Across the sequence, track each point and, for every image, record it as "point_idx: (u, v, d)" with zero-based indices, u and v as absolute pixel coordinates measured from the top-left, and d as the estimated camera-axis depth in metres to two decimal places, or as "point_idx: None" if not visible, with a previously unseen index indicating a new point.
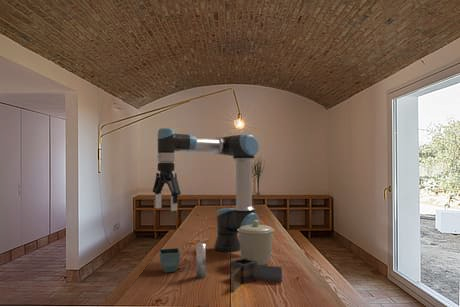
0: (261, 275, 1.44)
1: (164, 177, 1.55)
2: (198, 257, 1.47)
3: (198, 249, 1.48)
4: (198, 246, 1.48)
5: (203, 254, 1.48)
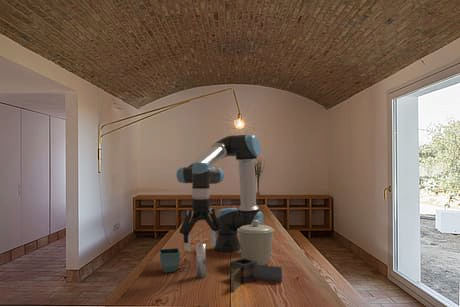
0: (261, 275, 1.44)
1: None
2: (198, 257, 1.47)
3: (198, 249, 1.48)
4: (198, 246, 1.48)
5: (203, 254, 1.48)
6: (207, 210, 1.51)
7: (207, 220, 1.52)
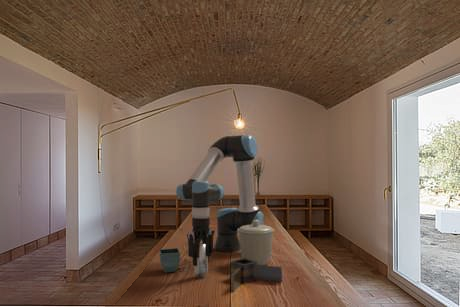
0: (261, 275, 1.44)
1: None
2: (198, 257, 1.47)
3: None
4: None
5: (203, 254, 1.48)
6: (208, 228, 1.51)
7: (204, 241, 1.50)
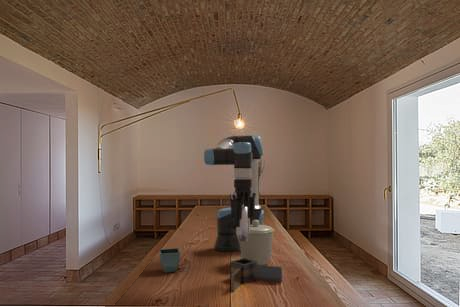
0: (261, 275, 1.44)
1: None
2: None
3: None
4: None
5: (246, 217, 1.46)
6: (249, 190, 1.49)
7: (246, 202, 1.48)
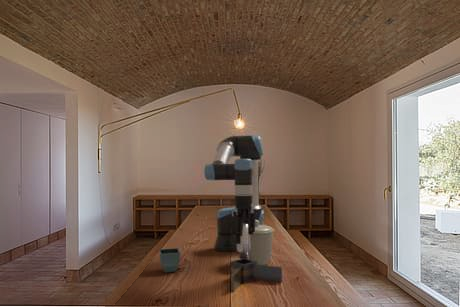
0: (261, 275, 1.44)
1: None
2: None
3: None
4: None
5: (246, 234, 1.46)
6: (250, 207, 1.49)
7: (246, 219, 1.48)
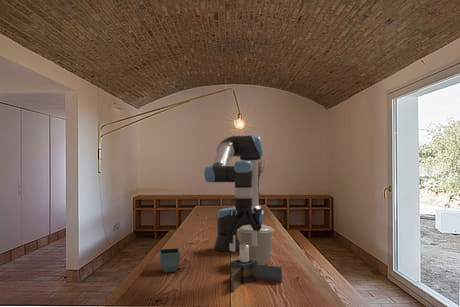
0: (261, 275, 1.44)
1: None
2: (242, 258, 1.45)
3: (242, 250, 1.46)
4: (242, 247, 1.46)
5: (247, 255, 1.46)
6: (250, 209, 1.49)
7: (249, 220, 1.49)
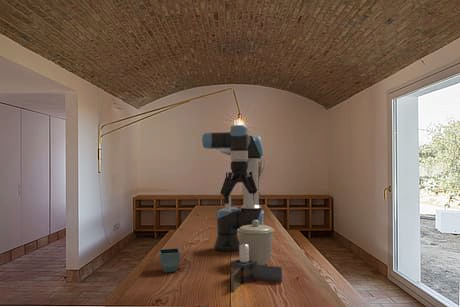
0: (261, 275, 1.44)
1: None
2: (242, 258, 1.45)
3: (242, 250, 1.45)
4: (242, 247, 1.45)
5: (247, 255, 1.45)
6: (245, 173, 1.52)
7: (245, 183, 1.53)
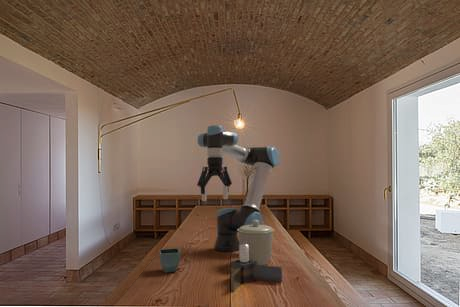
0: (261, 275, 1.44)
1: None
2: (242, 258, 1.45)
3: (242, 250, 1.45)
4: (242, 247, 1.46)
5: (247, 255, 1.46)
6: (220, 167, 1.73)
7: (220, 176, 1.73)
